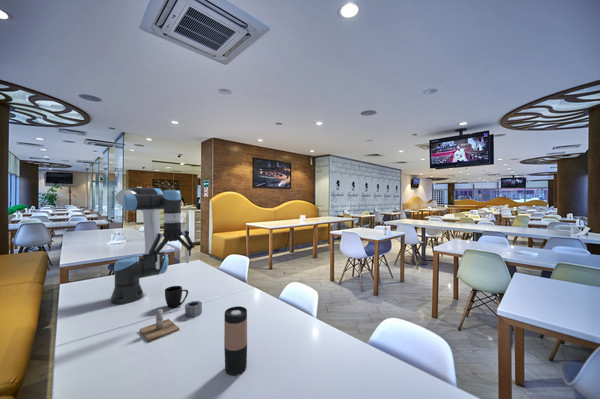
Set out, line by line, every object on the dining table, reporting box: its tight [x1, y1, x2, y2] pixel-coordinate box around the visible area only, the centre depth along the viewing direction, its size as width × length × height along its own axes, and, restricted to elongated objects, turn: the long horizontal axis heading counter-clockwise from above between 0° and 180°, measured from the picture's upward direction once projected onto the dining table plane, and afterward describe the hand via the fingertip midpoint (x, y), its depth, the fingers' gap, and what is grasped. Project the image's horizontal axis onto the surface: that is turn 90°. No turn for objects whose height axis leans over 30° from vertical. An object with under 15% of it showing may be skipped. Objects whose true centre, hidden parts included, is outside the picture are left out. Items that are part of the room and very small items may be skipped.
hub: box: [184, 300, 203, 319], centre depth 125 cm, size 7×7×5 cm
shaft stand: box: [139, 308, 180, 343], centre depth 109 cm, size 12×12×9 cm
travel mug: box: [223, 305, 248, 377], centre depth 86 cm, size 8×8×20 cm
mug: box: [164, 285, 189, 309], centre depth 133 cm, size 8×12×10 cm
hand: (173, 265), depth 121 cm, fingers open, 13 cm apart
